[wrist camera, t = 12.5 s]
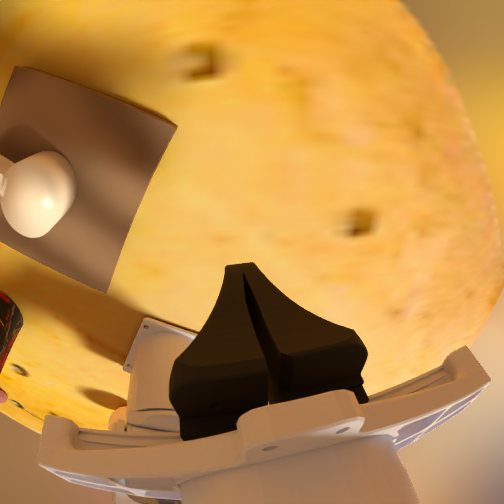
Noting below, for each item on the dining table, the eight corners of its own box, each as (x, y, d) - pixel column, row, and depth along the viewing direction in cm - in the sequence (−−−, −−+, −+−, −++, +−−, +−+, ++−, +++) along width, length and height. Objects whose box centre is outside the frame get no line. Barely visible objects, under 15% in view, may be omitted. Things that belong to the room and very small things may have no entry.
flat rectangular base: (110, 282, 22) (106, 293, 20) (-11, 222, 16) (-20, 229, 15) (178, 126, 17) (175, 128, 15) (25, 66, 11) (15, 66, 10)
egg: (110, 395, 30) (105, 442, 24) (147, 403, 32) (146, 450, 26) (111, 411, 32) (107, 452, 26) (144, 418, 34) (143, 460, 28)
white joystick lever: (87, 169, 15) (68, 183, 12) (64, 229, 17) (46, 250, 14) (-23, 106, 10) (-48, 112, 7) (-37, 163, 11) (-60, 175, 9)
